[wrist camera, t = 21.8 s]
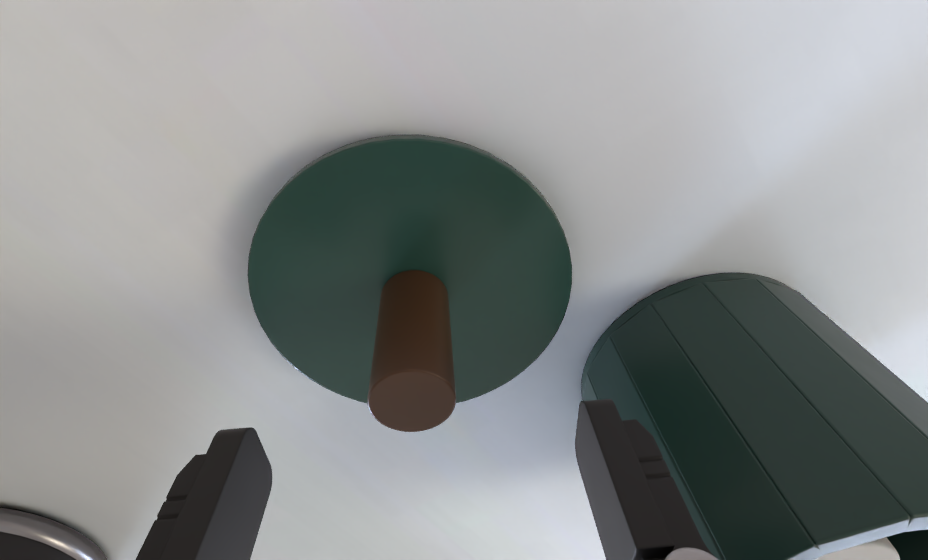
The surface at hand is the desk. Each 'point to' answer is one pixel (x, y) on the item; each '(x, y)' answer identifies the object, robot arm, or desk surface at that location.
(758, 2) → the desk surface
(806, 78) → the desk surface
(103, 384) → the desk surface
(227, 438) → the robot arm
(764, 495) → the tin
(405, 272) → the lid
